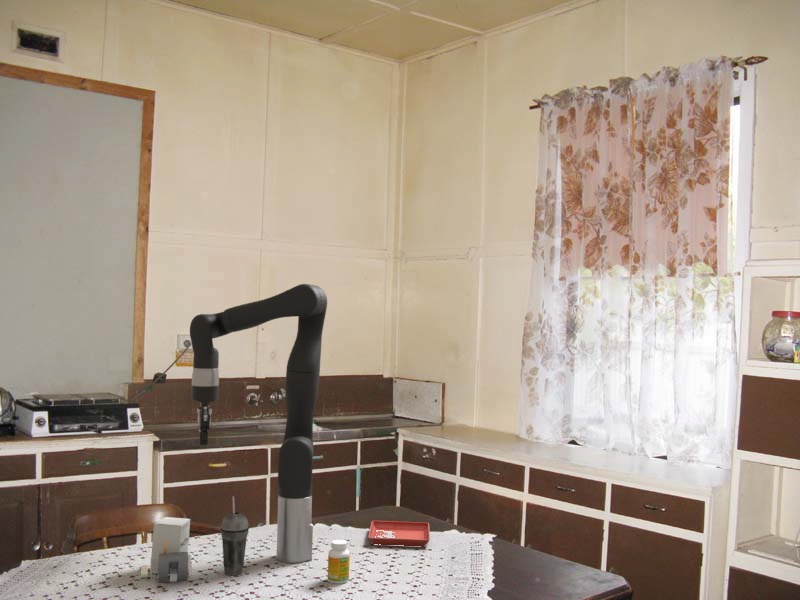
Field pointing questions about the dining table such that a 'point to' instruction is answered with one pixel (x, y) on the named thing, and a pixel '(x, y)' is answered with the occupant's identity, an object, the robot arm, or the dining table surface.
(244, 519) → the beverage cup
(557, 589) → the dining table surface
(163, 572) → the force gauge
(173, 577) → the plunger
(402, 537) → the plant saucer
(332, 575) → the supplement bottle
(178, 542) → the supplement box
